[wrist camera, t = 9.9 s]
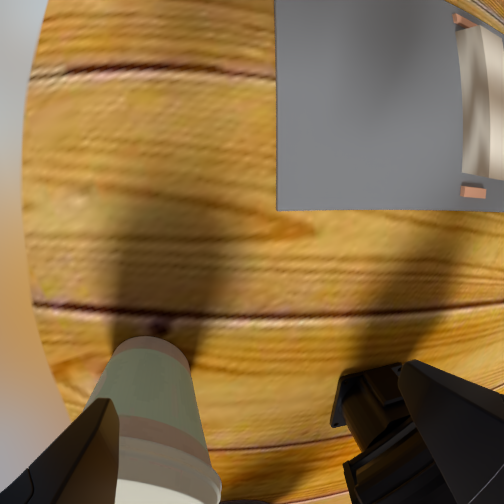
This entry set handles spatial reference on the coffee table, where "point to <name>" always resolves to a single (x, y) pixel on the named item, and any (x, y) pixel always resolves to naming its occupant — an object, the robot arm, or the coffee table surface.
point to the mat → (373, 107)
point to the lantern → (243, 502)
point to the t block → (482, 101)
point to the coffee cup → (157, 426)
